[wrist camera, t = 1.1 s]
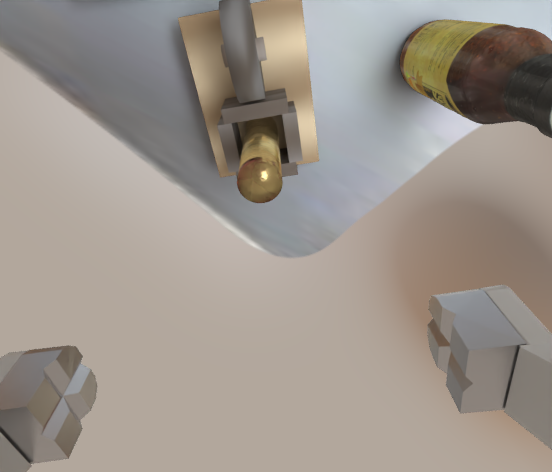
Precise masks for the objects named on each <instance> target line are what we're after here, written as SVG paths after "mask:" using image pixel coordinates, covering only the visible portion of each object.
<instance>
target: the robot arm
mask: <svg viewBox="0 0 552 472" xmlns="http://www.w3.org/2000/svg"><path fill="white" fill-rule="evenodd" d="M429 311H430V313H431V315H432V317H433V319H432V320H431V322H430V323H429V324H428V341H429V347H430V350H431V353H432V356H433V359H434V361H435V363H436V365H437V367H438V368H439V369H441V370H442V371H444V372H445V373H447V381H446V386H447V388H448V390H449V392H450V394H451V396H452V398H453V400H454V402H455V404H456V406H457V408H458V410H459V412H460V413H471V412H483V411H493V410H504V412H505V413H506V414H508V415H509V416H510V417H511V418H513V419H514V420H515V421H516V422H518V423H519V424H520V425H521V426H523V427H524V428H525V429H526V430H528V431H529V432H530V433H532V434H533V435H534V436H535V437H536V438H538V439H539V440H540V441H542V442H543V443H544V444H545V445H547V446H548V447H549V448H550V449H551V450H552V334H551V333H550V331H549V330H548V329H547V328H546V327H545V326H544V325H543V324H542V323H541V322H540V321H539V319H538V318H536V316H535V315H534V314H533V313H532V312H531V311H530V310H529V309H528V308H527V306H526V305H525V304H524V303H523V302H522V301H521V300H520V299H519V298H518V296H517V295H516V294H515V293H514V292H513V291H512V290H511V289H510V288H509V287H507V286H505V285H498V286H492V287H486V288H480V289H474V290H467V291H460V292H453V293H446V294H439V295H433V296H431V298H430V300H429ZM82 357H83V356H82V354H81V353H80V352H79V350H78V349H77V347H75V346H61V347H52V348H43V349H34V350H29V351H21V352H11V353H8V354H6V355H4V356H3V357H1V358H0V472H27V471H28V470H29V468H30V467H31V464H34V463H41V462H48V461H55V460H62V459H68V458H69V456H70V454H71V452H72V450H73V448H74V446H75V444H76V442H77V439H78V437H79V435H80V433H81V431H82V425H81V422H80V420H81V419H82V418H83V417H84V416H85V415H86V414H87V413H88V412H89V411H91V408H92V406H93V404H94V402H95V399H96V392H97V382H96V378H95V375H94V374H93V372H92V370H91V369H89V368H88V367H86V366H84V365H82V364H81V360H82Z"/></svg>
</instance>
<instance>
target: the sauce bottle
mask: <svg viewBox="0 0 552 472" xmlns="http://www.w3.org/2000/svg"><path fill="white" fill-rule="evenodd" d="M400 69H401V72H402V75H403V78H404V80H405V81H406V82H407V83H408V84H409V85H410V86H411V87H412V88H413V89H414V90H415V91H417V92H419V93H421V94H422V95H424V96H426V97H428V98H430V99H432V100H433V101H435V102H437V103H439V104H441V105H443V106H444V107H446V108H448V109H450V110H452V111H454V112H456V113H458V114H460V115H462V116H463V117H465V118H468V119H470V120H472V121H474V122H476V123H480V124H495V123H503V122H513V121H521V122H526V123H528V124H530V125H533V126H535V127H537V128H538V129H539V131H540V132H541V133H543V134H544V135H546V136H548V137H551V138H552V41H551V40H550V39H549V38H548V37H547V36H545V35H544V34H542V33H540V32H539V31H536V30H533V29H528V28H523V27H520V28H516V27H513V26H510V25H505V24H494V23H482V22H469V21H457V20H437V21H433V22H429V23H427V24H424V25H423V26H422V27H420V28H418V29H417V30H416V31H414V32H413V33H412V34H411V35H410V37H409V38H408V39H407V41H406V43H405V45H404V47H403V49H402V53H401V56H400Z"/></svg>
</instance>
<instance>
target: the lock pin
mask: <svg viewBox="0 0 552 472" xmlns="http://www.w3.org/2000/svg"><path fill="white" fill-rule="evenodd" d="M237 185H238V189H239V191H240V193H241V194H242V195H243V196H244V197H245V198H246V199H247V200H249V201H252V202H255V203H265V202H269V201H271V200H273V199H274V198H275V197H276V196H277V195H278V194H279V193H280V191H281V188H282V172H281V160H280V149H279V137H278V127H277V123H276V121H275V120H274V119H273V118H272V117H271V116H270V117H265V118H259V119H253V120H248V122H247V125H246V130H245V136H244V142H243V148H242V154H241V160H240V166H239V172H238V178H237Z"/></svg>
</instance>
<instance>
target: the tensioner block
mask: <svg viewBox="0 0 552 472" xmlns="http://www.w3.org/2000/svg"><path fill="white" fill-rule="evenodd" d="M178 21H179V25H180V29H181V32H182V36H183V40H184V44H185V47H186V51H187V55H188V59H189V62H190V66H191V70H192V74H193V77H194V81H195V85H196V89H197V92H198V96H199V100H200V104H201V107H202V111H203V115H204V119H205V122H206V126H207V130H208V134H209V137H210V141H211V145H212V149H213V152H214V156H215V160H216V164H217V167H218V171H219V175H220V177H226V176H232V175H236V176H237V178H238V172H239V166H240V160H241V154H242V148H243V142H244V136H245V130H246V125H247V122H248V120H253V119H259V118H265V117H270V116H271V117H272V118H273V119H274V120H275V121H276V123H277V127H278V137H279V149H280V160H281V172H282V177H285V176H291V175H297V174H298V171H297V165H299V164H305V163H311V162H317V161H319V155H318V146H317V137H316V128H315V118H314V109H313V100H312V91H311V81H310V72H309V63H308V54H307V44H306V35H305V26H304V17H303V8H302V0H266V1H261V2H256V3H251V4H250V1H249V0H222V1H219V10H215V11H210V12H205V13H200V14H195V15H190V16H185V17H180V18H178Z"/></svg>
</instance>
